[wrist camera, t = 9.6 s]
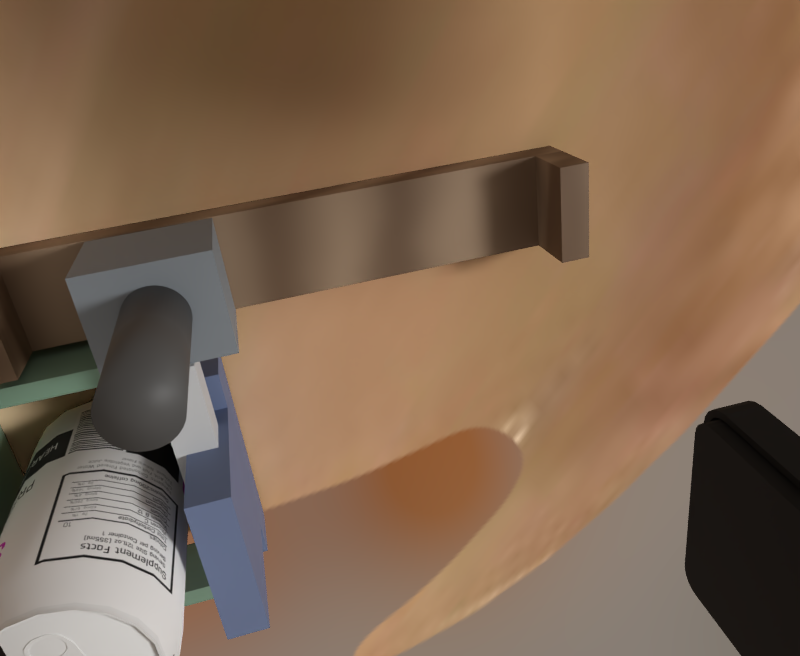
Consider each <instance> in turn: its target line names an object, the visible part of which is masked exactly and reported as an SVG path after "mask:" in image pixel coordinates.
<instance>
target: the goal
mask: <svg viewBox="0 0 800 656" xmlns="http://www.w3.org/2000/svg"><path fill="white" fill-rule="evenodd" d="M99 379H100V373H99V370H98V368H97V365H96V362H95V360H94V357H93V354H92V351H91V349H90V346H89V343H88V340H84V341H80V342H75V343H70V344H65V345H61V346H56V347H51V348H46V349H42V350H37V351H33V352H32V354H31V356H30V358H29V360H28V362H27V364H26V366H25V367H24V369H23V371H22V373H21V375H20V377H19V379H18V380H16V381H11V382H6V383H2V384H0V409H2V408H7V407H11V406H16V405H20V404H25V403H30V402H34V401H39V400H43V399H48V398H52V397H57V396H61V395H66V394H70V393H75V392H79V391H84V390H88V389H93V388H97V385H98V382H99ZM23 478H24V476H23V474H22V472H21V469H20V467H19V465H18V463H17V461H16V458H15V456H14V454H13V452H12V450H11V448H10V445H9V443H8V441H7V439H6V437H5V434H4V432H3V430H2V428H1V426H0V536H1V534H2V531H3V529H4V526H5V523H6V521H7V518H8V516H9V513H10V511H11V508H12V506H13V503H14V501H15V498H16V496H17V493H18V491H19V488H20V486H21V483H22V481H23ZM213 598H214V597H213V595H212V592H211V589H210V586H209V583H208V580H207V577H206V574H205V571H204V568H203V565H202V562H201V559H200V556H199V553H198V550H197V547H196V544H195V543H193V544H189V545H187V558H186V579H185V601H184V606H188V605H191V604H195V603H199V602H202V601H206V600H210V599H213Z"/></svg>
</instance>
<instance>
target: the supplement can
mask: <svg viewBox="0 0 800 656" xmlns="http://www.w3.org/2000/svg"><path fill="white" fill-rule="evenodd" d="M92 402H93V401H91V402H88V403H86V404H83V405H81V406H78V407H75V408H73V409H70V410H68V411H65V412H64V413H63V414H62V415H61V416H59V417H58V418H57V419H56V420H55V421H53V422H52V423H51V424H50V425H49V426H47V427H46V429H45V431H44V433H43V434H42V436H41V438H40V440H39V442H38V444H37V446H36V448H35V450H34V453H33V455H32V458H31V460H30V463H29V465H28V468H27V470H26V473H25V475H24V478H23V481H22V483H21V486H20V488H19V491H18V493H17V496H16V498H15V501H14V503H13V506H12V508H11V511H10V513H9V516H8V518H7V521H6V523H5V526H4V529H3V531H2V534H1V536H0V646H1V648H2V649H3V651H4V653H5V654H6V656H180V649H181V642H182V635H183V621H184V601H185V579H186V558H187V536H188V521H187V518H186V515H185V512H184V492H185V484H184V481H183V478H182V475H181V472H180V469H179V466H178V463H177V460H176V457H175V454H174V451H173V448H172V445H171V442H170V443H168V444H167V445H165V446H163V447H160V448H158V449H155V450H151V451H143V452H134V451H127V450H123V449H120V448H117V447H115V446H113V445H111V444H110V443H108V442H106V441H105V440H104V439H103V438H102V437H101V436H100V435H99V434H98V432H97V431H96V429H95V428H94V425H93V423H92V419H91V406H92Z"/></svg>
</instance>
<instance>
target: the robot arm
mask: <svg viewBox="0 0 800 656" xmlns="http://www.w3.org/2000/svg"><path fill="white" fill-rule="evenodd" d="M688 519H689V520H688V531H687V545H686V557H685V571H686V576H687V579H688V582H689V584H690V586H691V588H692V590H693V591H694V593H695V594H696V596H697V597H698V599H699V600H700V601H701V603H702V604H703V605H704V607H705V608H706V609H707V610H708V612H709V613H710V615H711V616H712V617H713V618H714V620H715V621H716V622H717V624H718V625H719V627H720V628H721V629H722V631H723V632H724V633H725V635H726V636H727V637H728V638H729V640H730V641H731V643H732V644H733V645H734V647H735V648H736V649H737V651H738V652H739V653H740V655H741V656H800V436H798V435H797V434H796V433H795V432H793V431H792V430H791V429H790V428H788V427H787V426H786V425H785V424H783V423H782V422H781V421H780V420H779V419H777V418H776V417H775V416H773V415H772V414H771V413H770V412H769V411H767V410H766V409H765V408H764V407H762V406H761V405H759V404H758V403H756V402H753V401H746V402H742V403H738V404H734V405H731V406H726V407H722V408H718V409H714V410H711V411H709V412H708V413H707V415H706V416H705V420H704V423H702V424H700V425H698V427H697V428H696V432H695V441H694V454H693V467H692V481H691V493H690V506H689V518H688ZM0 656H6V654H5V653H4V651H3V649H2V648H1V646H0Z"/></svg>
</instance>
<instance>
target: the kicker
mask: <svg viewBox="0 0 800 656" xmlns="http://www.w3.org/2000/svg"><path fill="white" fill-rule="evenodd" d="M65 281H66V283H67V286H68V289H69V291H70V294H71V297H72V300H73V302H74V305H75V308H76V311H77V313H78V316H79V319H80V321H81V324H82V327H83V330H84V332H85V335H86V338H87V340H88V343H89V346H90V349H91V351H92V354H93V357H94V360H95V362H96V365H97V368H98V370H99V373H100V379H99V382H98V385H97V389H96V392H95V395H94V399H93V402H92V406H91V419H92V423H93V425H94V428H95V429H96V431H97V432H98V434H99V435H100V436H101V437H102V438H103V439H104V440H105V441H106V442H108V443H110V444H111V445H113V446H115V447H117V448H120V449H123V450H127V451H134V452H143V451H151V450H155V449H158V448H160V447H163V446H165V445H167V444H168V443H170V442H171V445H172V448H173V451H174V454H175V457H176V460H177V463H178V466H179V469H180V472H181V475H182V478H183V481H184V484H185V492H184V512H185V515H186V518H187V521H188V524H189V527H190V530H191V533H192V536H193V538H194V541H195V544H196V547H197V550H198V553H199V556H200V559H201V562H202V565H203V568H204V571H205V574H206V577H207V580H208V583H209V586H210V589H211V592H212V595H213V597H214V600H215V603H216V606H217V609H218V612H219V615H220V618H221V621H222V624H223V627H224V630H225V633H226V636H227V639H232V638H235V637H239V636H242V635H246V634H249V633H253V632H256V631H260V630H264V629H267V628H270V624H269V614H268V603H267V592H266V581H265V570H264V559H263V552H264V551H267V540H266V530H265V520H264V513H263V510H262V506H261V502H260V499H259V495H258V491H257V488H256V484H255V480H254V477H253V473H252V469H251V466H250V462H249V459H248V455H247V451H246V448H245V444H244V440H243V437H242V433H241V429H240V426H239V422H238V418H237V415H236V411H235V407H234V404H233V400H232V396H231V393H230V389H229V386H228V382H227V378H226V375H225V371H224V367H223V364H222V360H221V357H223V356H227V355H232V354H236V353H239V347H238V334H237V321H236V309H235V306H234V302H233V298H232V294H231V290H230V286H229V282H228V278H227V274H226V270H225V266H224V262H223V258H222V254H221V250H220V247H219V243H218V239H217V235H216V231H215V227H214V223H213V219H212V218H209V219H204V220H199V221H193V222H188V223H183V224H177V225H172V226H167V227H161V228H156V229H151V230H145V231H140V232H135V233H130V234H124V235H119V236H114V237H108V238H103V239H98V240H92V241H87V242H84V244H83V246H82V248H81V249H80V251H79V253H78V255H77V257H76V259H75V261H74V263H73V265H72V266H71V268H70V270H69V272H68V274H67V276H66V278H65Z"/></svg>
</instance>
